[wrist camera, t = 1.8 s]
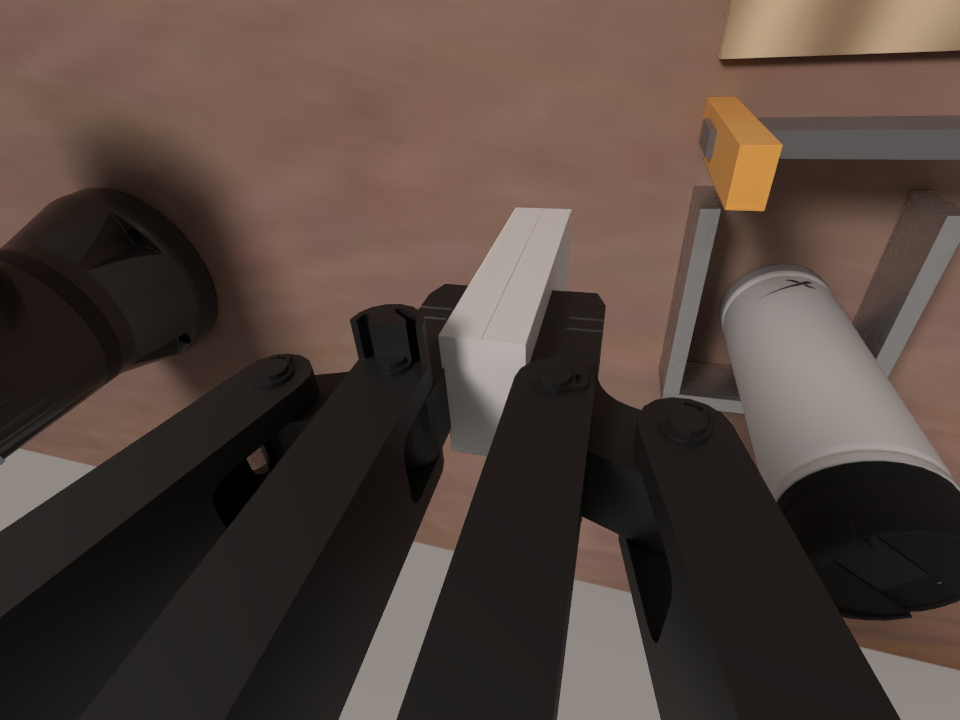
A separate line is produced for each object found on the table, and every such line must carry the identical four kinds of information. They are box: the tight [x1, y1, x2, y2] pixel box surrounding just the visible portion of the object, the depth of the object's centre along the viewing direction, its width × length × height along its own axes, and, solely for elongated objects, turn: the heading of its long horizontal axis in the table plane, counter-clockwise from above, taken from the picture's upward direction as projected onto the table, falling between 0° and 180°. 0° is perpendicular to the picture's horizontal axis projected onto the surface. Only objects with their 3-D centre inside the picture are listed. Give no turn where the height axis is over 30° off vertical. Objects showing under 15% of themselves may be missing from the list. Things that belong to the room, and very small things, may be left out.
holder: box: [659, 186, 960, 414], centre depth 30 cm, size 12×14×4 cm
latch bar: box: [698, 97, 960, 211], centre depth 22 cm, size 13×2×11 cm, turn 93°
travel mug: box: [720, 264, 960, 621], centre depth 25 cm, size 6×7×20 cm
